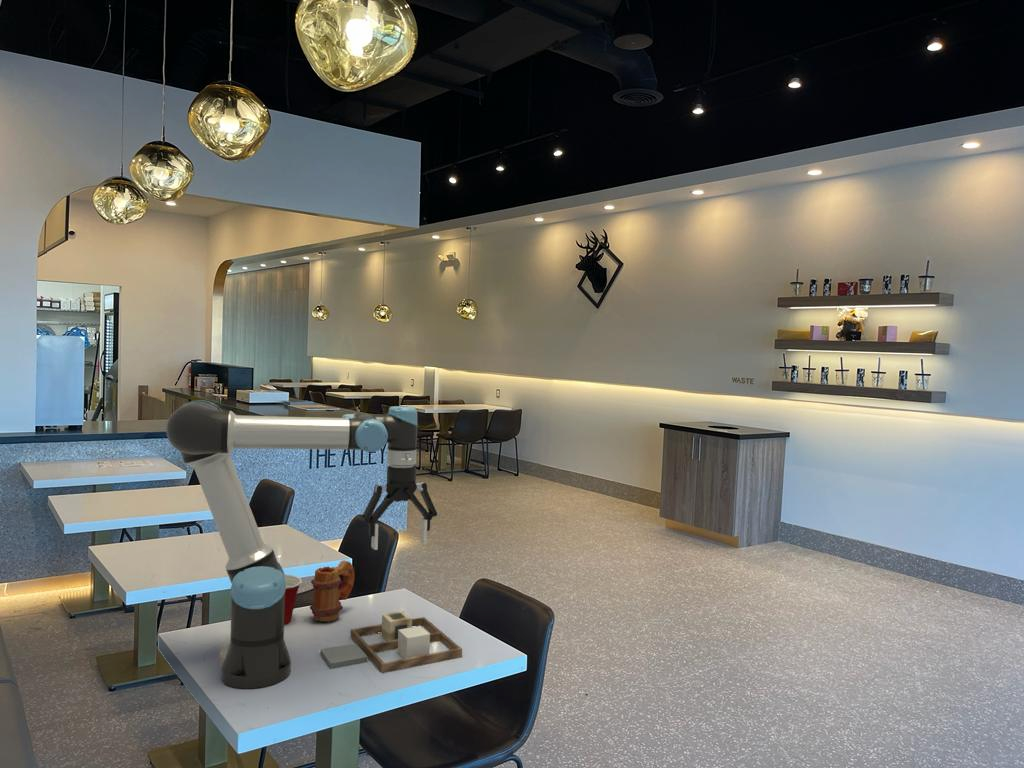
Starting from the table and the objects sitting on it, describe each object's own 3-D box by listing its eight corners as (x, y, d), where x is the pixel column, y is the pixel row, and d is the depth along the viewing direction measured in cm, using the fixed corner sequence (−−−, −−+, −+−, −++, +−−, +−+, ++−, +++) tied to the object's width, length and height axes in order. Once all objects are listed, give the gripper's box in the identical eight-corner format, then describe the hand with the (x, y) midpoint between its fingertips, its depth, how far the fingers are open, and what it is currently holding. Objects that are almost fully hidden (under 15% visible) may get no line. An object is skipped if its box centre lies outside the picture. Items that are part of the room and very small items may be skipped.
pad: (330, 668, 169) (330, 663, 169) (320, 654, 177) (320, 649, 177) (367, 661, 174) (367, 656, 174) (355, 647, 182) (355, 643, 181)
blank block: (406, 662, 174) (407, 638, 174) (397, 653, 180) (398, 629, 179) (429, 657, 177) (429, 634, 177) (419, 648, 183) (420, 625, 182)
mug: (323, 627, 194) (324, 573, 193) (302, 620, 198) (304, 567, 198) (361, 612, 206) (363, 561, 206) (341, 606, 211) (343, 556, 210)
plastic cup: (288, 631, 190) (289, 587, 190) (251, 627, 193) (252, 583, 192) (308, 617, 201) (309, 575, 201) (273, 613, 203) (274, 571, 203)
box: (381, 673, 168) (382, 664, 168) (350, 636, 188) (350, 629, 188) (461, 656, 178) (462, 648, 178) (423, 624, 199) (424, 617, 199)
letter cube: (389, 645, 184) (390, 621, 184) (381, 636, 190) (382, 614, 189) (411, 641, 187) (412, 618, 187) (402, 632, 193) (403, 610, 192)
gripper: (360, 470, 177) (357, 554, 178) (451, 465, 190) (448, 544, 191) (350, 465, 184) (348, 547, 184) (439, 461, 196) (436, 537, 197)
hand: (399, 545), depth 187 cm, fingers open, 13 cm apart
